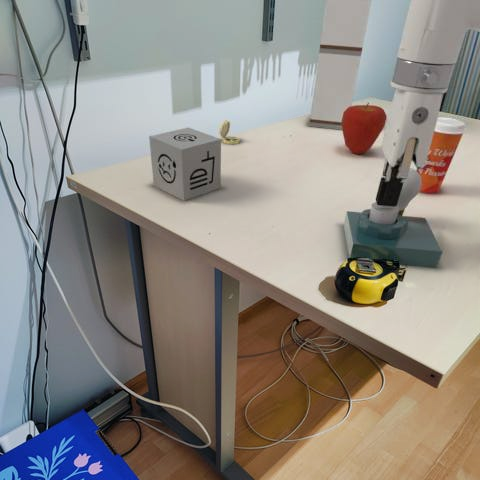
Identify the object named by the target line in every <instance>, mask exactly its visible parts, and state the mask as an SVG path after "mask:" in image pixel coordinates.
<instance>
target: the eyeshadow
mask: <svg viewBox="0 0 480 480" xmlns="http://www.w3.org/2000/svg"><path fill="white" fill-rule="evenodd" d="M230 129H231V122H230V121H229V120H224V121H223V122H222V123H221V125H220V127H219V131H218V134H219V136H220V138H222V142H223V143H224V144H228V145H236V144H239V143H240V138H239V137H237V136H232V135H231V136H230V135H229V132H230ZM228 135H229V136H228Z"/></svg>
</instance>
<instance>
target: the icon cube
mask: <svg viewBox="0 0 480 480" xmlns="http://www.w3.org/2000/svg"><path fill="white" fill-rule="evenodd" d="M148 138H149V149H150V160H151V171H152V182H153V186H154V187H156V188H157V189H159V190H161V191H163V192H166V193H167V194H169V195H171V196H173V197H176V199H177V198H178V199H179V200H181V201H183V202H186V201H188V200H190V199H194V198H197V197H199V196H203V195H205V194H208V193H211V192H214V191H216V190H220V189H221V188H222V187H221V186H222V184H221V181H222V180H221V179H222V177H221V175H222V174H221V173H222V139H221V138H219V137H216V136H213V135H211V134H208V133H205V132H203V131H200V130H197V129H194V128H191V127H184V128H180V129H175V130H171V131H167V132H162V133H157V134H153V135H149V137H148Z"/></svg>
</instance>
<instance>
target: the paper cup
mask: <svg viewBox="0 0 480 480" xmlns="http://www.w3.org/2000/svg"><path fill="white" fill-rule="evenodd" d="M466 133H467V126H466V123H465V122H464V121H462V120H459V119H455V118H451V117H442V116H441V117H439V116H438V119H437V123H436V127H435V131H434V134H433V138H432V142H431V145H430V149H429V152H428V156H427V159H426V163H425V166H424V167H423V168H422V169H417V168H416V169H415V170H416V171H417V172H418V173H419V175H420V177H421V180H422V185H421V189H420V191H419V193H424V194H430V195H431V194H437V193H438V192H440V189H441V186H442V185H443V182H444V180H445V177H446V175H447V172H448V170H449V168H450V165H451V163H452V161H453V158H454V156H455V153H456V151H457V149H458V147H459V144H460V143H461V142H460V141H461V140H462V137H463V135H464V134H466Z"/></svg>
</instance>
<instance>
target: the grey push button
mask: <svg viewBox="0 0 480 480" xmlns="http://www.w3.org/2000/svg"><path fill="white" fill-rule="evenodd" d="M370 209H371V210H370V214H369V220H371V221H372V222H374V223H377V224H381V225H393V224H395V222H396V219H397V216H398V212H399V207H398V206H395V207H392V206H381V205H377V202H376V201H375V202H373V203H372V204H371V207H370Z"/></svg>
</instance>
